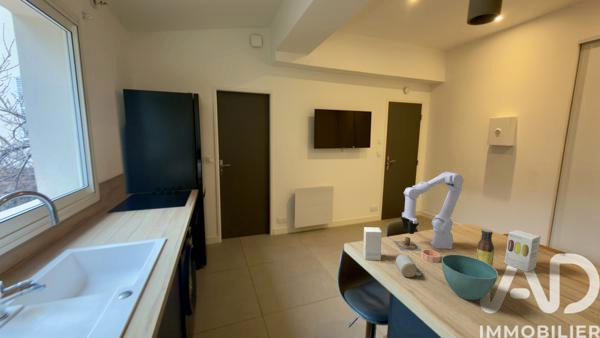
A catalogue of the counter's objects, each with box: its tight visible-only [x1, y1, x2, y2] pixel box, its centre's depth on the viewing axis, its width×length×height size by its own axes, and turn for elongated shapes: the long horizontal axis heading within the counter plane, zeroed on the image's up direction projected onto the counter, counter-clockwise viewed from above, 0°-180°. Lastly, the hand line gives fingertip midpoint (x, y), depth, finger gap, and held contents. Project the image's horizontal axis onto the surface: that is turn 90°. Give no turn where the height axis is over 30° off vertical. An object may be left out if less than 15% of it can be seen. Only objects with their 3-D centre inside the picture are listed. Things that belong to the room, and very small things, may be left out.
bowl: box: [420, 248, 442, 264], centre depth 123 cm, size 9×9×3 cm
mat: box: [392, 240, 423, 252], centre depth 137 cm, size 12×12×1 cm
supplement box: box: [503, 229, 541, 273], centre depth 116 cm, size 10×9×17 cm
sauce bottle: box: [475, 228, 495, 267], centre depth 111 cm, size 6×6×20 cm
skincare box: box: [362, 226, 383, 261], centre depth 122 cm, size 8×7×16 cm
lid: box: [398, 236, 417, 250], centre depth 136 cm, size 10×10×5 cm
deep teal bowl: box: [441, 254, 499, 301], centre depth 94 cm, size 18×18×12 cm
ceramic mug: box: [395, 253, 423, 278], centre depth 108 cm, size 11×8×8 cm
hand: (408, 231), depth 135 cm, fingers open, 7 cm apart
